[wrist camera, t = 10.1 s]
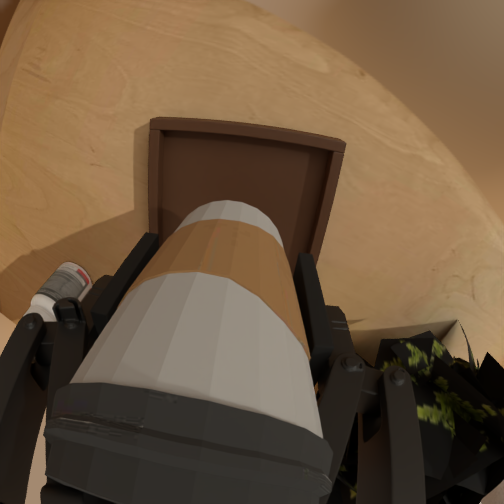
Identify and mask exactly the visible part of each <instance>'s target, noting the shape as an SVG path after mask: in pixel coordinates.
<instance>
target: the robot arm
mask: <svg viewBox="0 0 504 504" xmlns="http://www.w3.org/2000/svg"><path fill="white" fill-rule="evenodd" d="M158 250H159V234H156V233H148V232H146V233H145V234H144V236H143V237H142V238H141V239H140V241H139V242H138V243H137V245H136V246H135V247H134V249H133V250H132V251H131V253H130V254H129V255H128V257H127V258H126V259H125V261H124V262H123V264H122V265H121V266H120V268H119V269H118V270H117V272H116V273H115V275H114V276H109V275H104V276H103V277H101V278H100V279H98V280H97V281H96V282H95V284H94V285H93V286H92V288H91V289H90V290H89V292H88V294H87V295H86V296H85V297H84V299H83V300H82V302H80V301H79V300H78V299H77V298H75V297H64V298H61V299H59V300H58V301H57V302H56V303H54V305H53V307H52V310H53V312H54V315H55V318H56V320H57V321H44V320H43V317H42V316H41V315H40V314H38V313H29V314H26V315H25V316H23V317H22V318H21V319H20V321H19V322H18V324H17V326H16V328H15V330H14V331H13V333H12V335H11V337H10V338H9V340H8V342H7V344H6V346H5V348H4V350H3V352H2V354H1V356H0V504H25V499H26V493H27V485H28V480H29V474H30V469H31V464H32V459H33V454H34V450H35V446H36V442H37V438H38V434H39V430H40V426H41V422H42V419H43V415H44V412H45V409H46V406H47V409H46V423H47V420H48V419H50V418H51V414H52V407H53V401H54V397H55V394H56V391H57V389H60V388H62V387H64V386H66V385H68V384H70V382H71V380H72V378H73V377H74V375H75V374H76V372H77V370H78V369H79V367H80V365H81V364H82V362H83V360H84V359H85V357H86V356H87V354H88V353H89V351H90V349H91V348H92V346H93V345H94V343H95V342H96V340H97V339H98V337H99V336H100V334H101V332H102V331H103V329H104V328H105V326H106V325H107V323H108V322H109V321H110V319H111V318H112V316H113V315H114V313H115V312H116V310H117V307H118V305H119V304H120V302H121V300H122V299H123V297H124V295H125V294H126V292H127V291H128V289H129V288H130V287H131V285H132V284H133V283H134V281H135V280H136V279H137V277H138V276H139V274H140V273H141V272H142V271H143V269H144V268H145V267H146V265H147V264H148V263H149V261H150V260H151V259H152V257H153V256H154V255H155V254H156V252H157V251H158ZM293 282H294V286H295V291H296V295H297V299H298V303H299V308H300V312H301V316H302V321H303V325H304V330H305V334H306V339H307V343H308V348H309V352H310V357H311V358H310V361H309V366H310V371H311V376H312V381H313V386H314V387H315V385H316V383H317V381H318V389H319V390H318V391H317V393H316V395H315V396H316V401H317V407H318V412H319V417H320V423H321V428H322V434H323V439H324V440H326V441H327V442H328V444H329V446H330V448H331V449H332V451H333V457H332V462H331V467H330V472H329V476H328V478H329V479H330V481H331V482H332V488H333V485H334V482H335V480H336V477H337V474H338V471H339V468H340V465H341V462H342V459H343V456H344V453H345V450H346V446H347V443H348V440H349V436H350V433H351V429H352V426H353V422H354V418H355V414H356V412H358V475H357V495H356V504H426V492H425V474H424V461H423V451H422V442H421V434H420V427H419V420H418V414H417V408H416V402H415V396H414V391H413V386H412V381H411V377H410V375H409V373H408V372H407V371H406V370H405V369H403V368H402V367H400V366H396V365H393V366H389V367H387V368H386V369H385V371H380V370H377V369H373V368H370V367H368V366H366V365H365V363H364V361H363V359H361V358H360V357H359V356H358V355H356V353H355V350H354V346H353V342H352V339H351V335H350V331H349V328H348V324H347V321H346V317H345V314H344V313H343V312H342V310H341V309H340V308H339V307H338V306H328V305H325V303H324V298H323V294H322V290H321V286H320V282H319V278H318V274H317V270H316V266H315V262H314V258H313V254H307V253H300V252H299V254H298V258H297V262H296V266H295V270H294V274H293ZM50 449H51V444H50V443H49V442H48V441H47V440H46V467H47V462H48V458H49V453H50ZM40 494H41V495H40V498H41V504H115V503H114V502H111V501H108V500H105V499H102V498H99V497H97V496H94V495H91V494H88V493H86V492H83V491H81V490H78V489H75V488H72V487H70V486H65V485H63V484H61V483H59V482H57V481H55V480H53V479H51V478H49V477H47V483H46V485H44V486H43V487H42V489H41V492H40ZM329 496H330V493H328V494H326V495H324V496H322V497H319V504H326V503H327V501H328V498H329Z"/></svg>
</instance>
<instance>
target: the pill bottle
mask: <svg viewBox="0 0 504 504" xmlns="http://www.w3.org/2000/svg"><path fill="white" fill-rule="evenodd" d="M91 288H92V282H91V279H90V277H89V275H88V274H87V272H86V271H85V270H84V269H83V268H82V267H80V266H79V265H77V264H75V263H71V262H65V263H63V264H61V265H60V266H59V267H58V269H57V270H56V271H55V272H54V273H53V274H52V275H51V276H50V278H49V279H48V280H47V281H46V282H45V283H44V285H43V286H42V287H41V288H40V289H39V290H38V292H37V293H36V294H35V295H34V296H33V298H32V300H31V306H30V308H29V309H28V310H27V312H26V313H25V314H24V316H25V315H26V314H29V313H38V314H40V315H41V316H42V317H43V320H44V321H57V320H56V318H55V315H54V312H53V310H52V307H53V305H54V303H56V302H57V301H58V300H59V299H61V298H64V297H75V298H77V299H78V300H79V301H80V302H82V300H83V299H84V297H85V296H86V295H87V294H88V292H89V290H90V289H91Z"/></svg>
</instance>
